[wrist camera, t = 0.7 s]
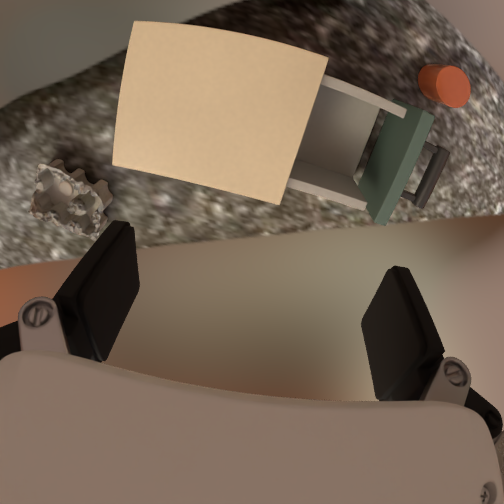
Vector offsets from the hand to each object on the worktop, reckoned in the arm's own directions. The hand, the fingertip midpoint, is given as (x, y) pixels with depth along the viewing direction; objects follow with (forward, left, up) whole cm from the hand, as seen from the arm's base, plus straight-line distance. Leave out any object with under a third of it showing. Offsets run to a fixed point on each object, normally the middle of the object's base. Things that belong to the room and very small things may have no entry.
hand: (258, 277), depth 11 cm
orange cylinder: (-9, +16, -21) cm, 27 cm away
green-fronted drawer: (-2, +7, -20) cm, 21 cm away
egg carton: (+7, -22, -21) cm, 31 cm away
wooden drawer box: (-4, -4, -21) cm, 21 cm away
